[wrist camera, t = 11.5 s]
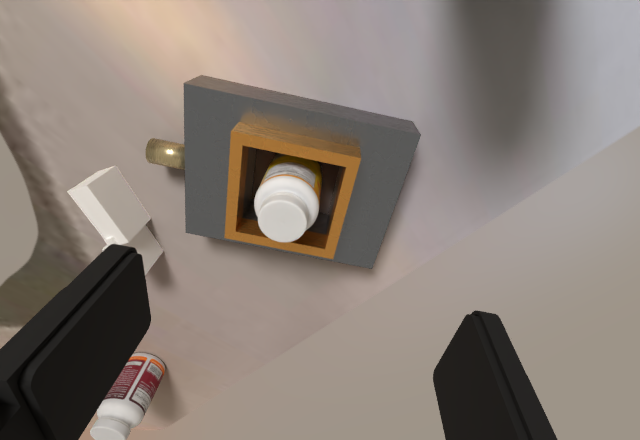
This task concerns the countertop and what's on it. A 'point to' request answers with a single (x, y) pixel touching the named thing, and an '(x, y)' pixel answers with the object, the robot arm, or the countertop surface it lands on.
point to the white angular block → (117, 213)
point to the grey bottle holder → (296, 140)
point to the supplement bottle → (288, 197)
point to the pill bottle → (128, 397)
